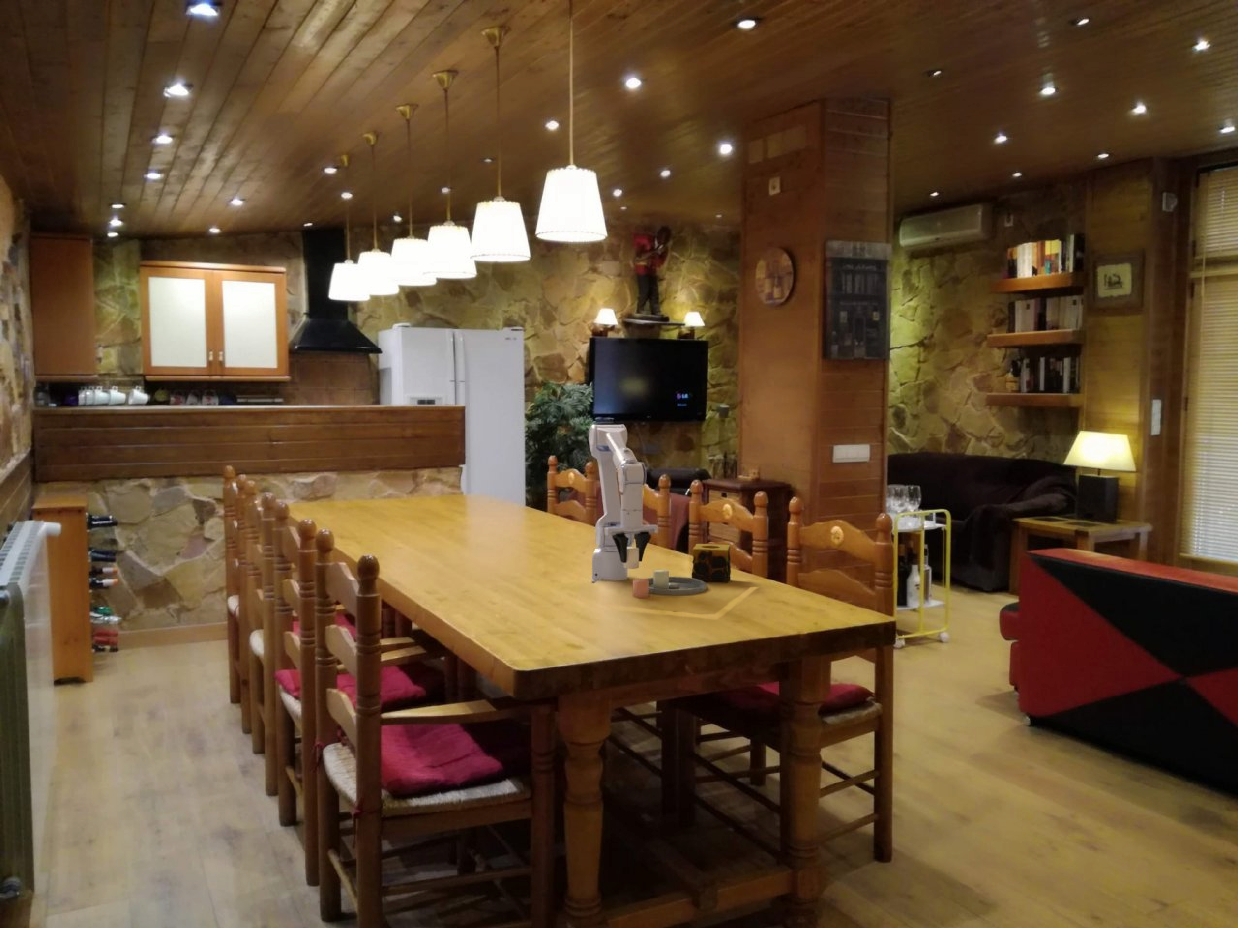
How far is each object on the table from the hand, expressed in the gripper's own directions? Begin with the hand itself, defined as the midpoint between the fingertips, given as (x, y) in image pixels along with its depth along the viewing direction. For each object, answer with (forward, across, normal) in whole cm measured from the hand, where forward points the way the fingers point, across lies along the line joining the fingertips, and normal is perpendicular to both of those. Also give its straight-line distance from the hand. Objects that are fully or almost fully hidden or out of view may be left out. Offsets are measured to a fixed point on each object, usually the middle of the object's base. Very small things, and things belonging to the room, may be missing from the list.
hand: (631, 561), depth 247 cm
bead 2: (+8, -1, -8) cm, 12 cm away
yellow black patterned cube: (+9, +27, +4) cm, 29 cm away
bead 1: (+2, 0, 0) cm, 2 cm away
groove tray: (+8, +11, -2) cm, 14 cm away
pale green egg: (+7, +7, -4) cm, 11 cm away
